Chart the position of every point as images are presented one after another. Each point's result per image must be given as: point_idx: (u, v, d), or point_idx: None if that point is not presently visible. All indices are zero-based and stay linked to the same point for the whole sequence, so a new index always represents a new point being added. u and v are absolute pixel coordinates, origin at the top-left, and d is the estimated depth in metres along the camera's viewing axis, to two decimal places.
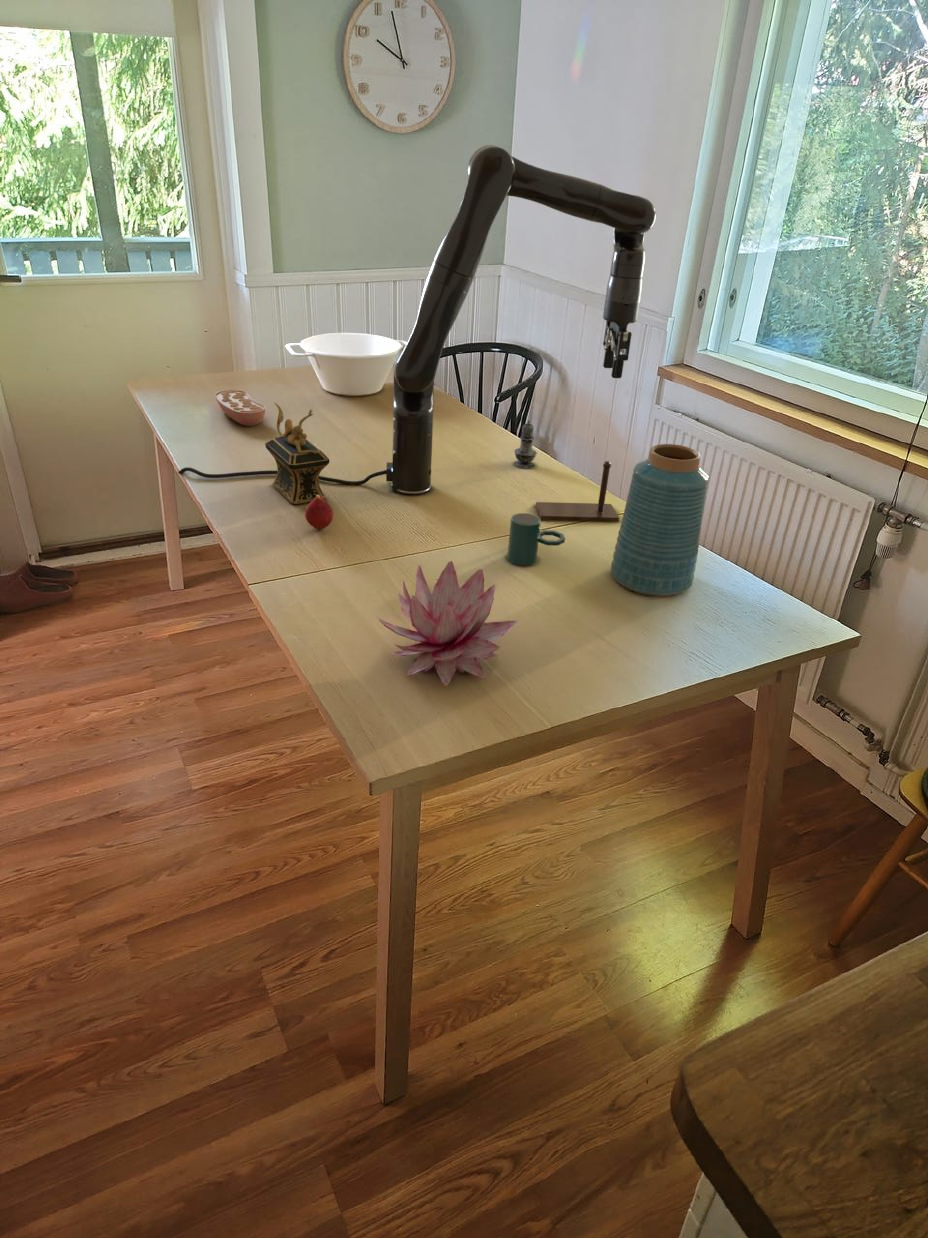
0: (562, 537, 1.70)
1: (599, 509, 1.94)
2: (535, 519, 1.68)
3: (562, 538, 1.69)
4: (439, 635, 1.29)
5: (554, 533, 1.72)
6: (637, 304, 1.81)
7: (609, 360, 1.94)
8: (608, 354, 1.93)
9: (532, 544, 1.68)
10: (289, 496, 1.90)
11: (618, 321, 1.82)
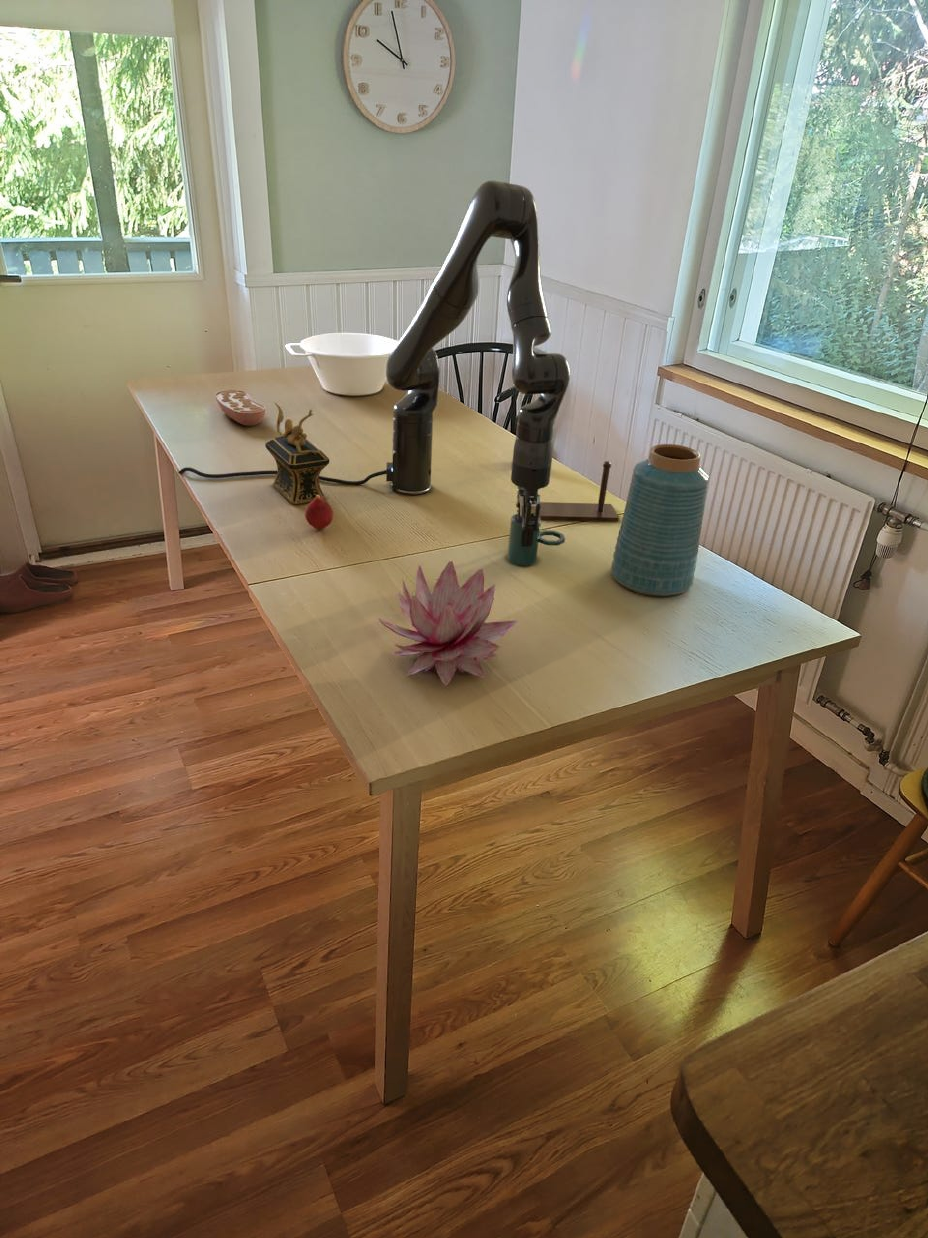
0: (562, 537, 1.70)
1: (599, 509, 1.94)
2: None
3: (562, 538, 1.69)
4: (439, 635, 1.29)
5: (554, 533, 1.72)
6: (547, 468, 1.60)
7: None
8: None
9: (532, 544, 1.68)
10: (289, 496, 1.90)
11: (526, 487, 1.60)
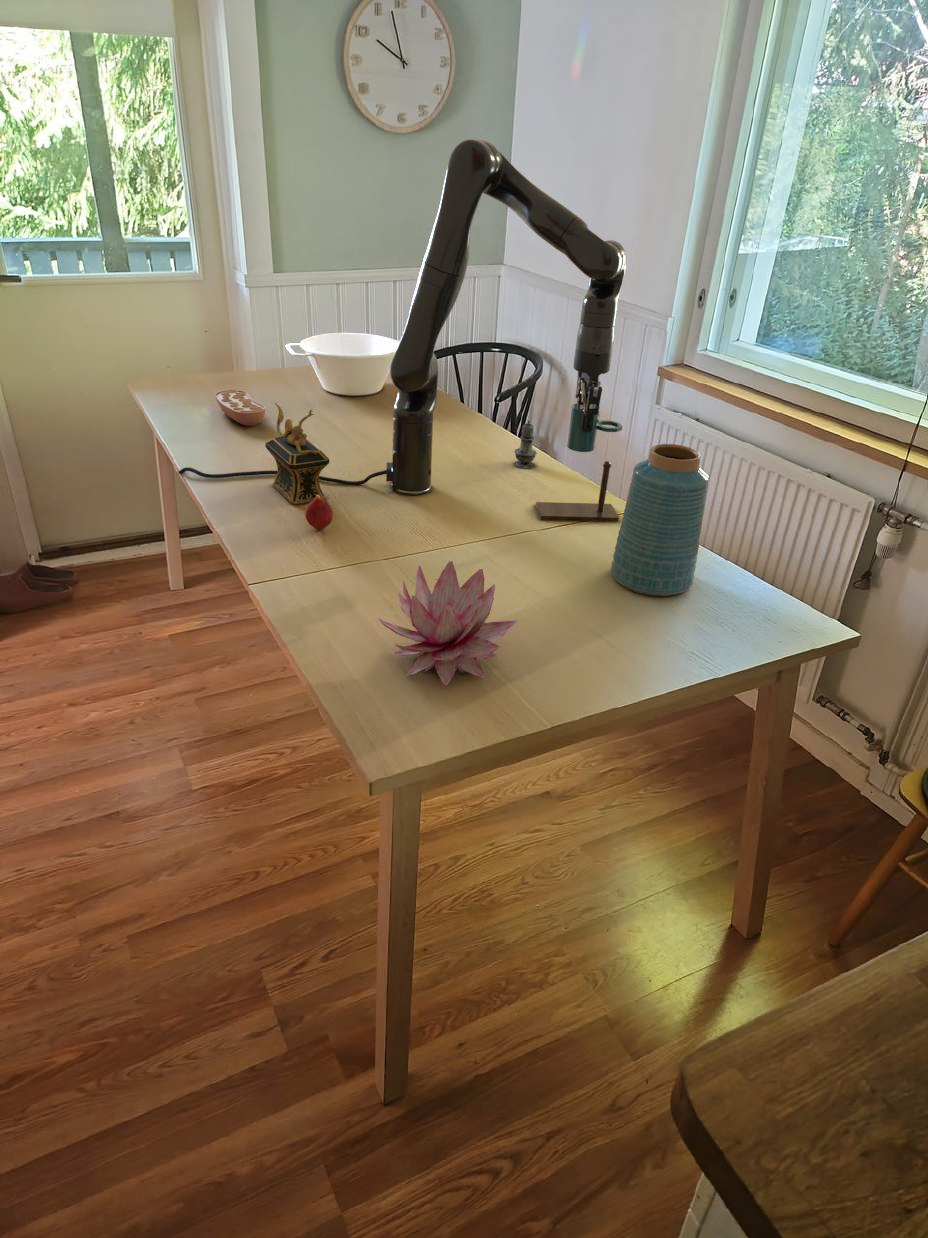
0: (619, 425, 1.81)
1: (599, 509, 1.94)
2: None
3: (619, 426, 1.80)
4: (439, 635, 1.29)
5: (611, 422, 1.83)
6: (609, 354, 1.71)
7: None
8: None
9: (592, 430, 1.79)
10: (289, 496, 1.90)
11: (589, 372, 1.71)
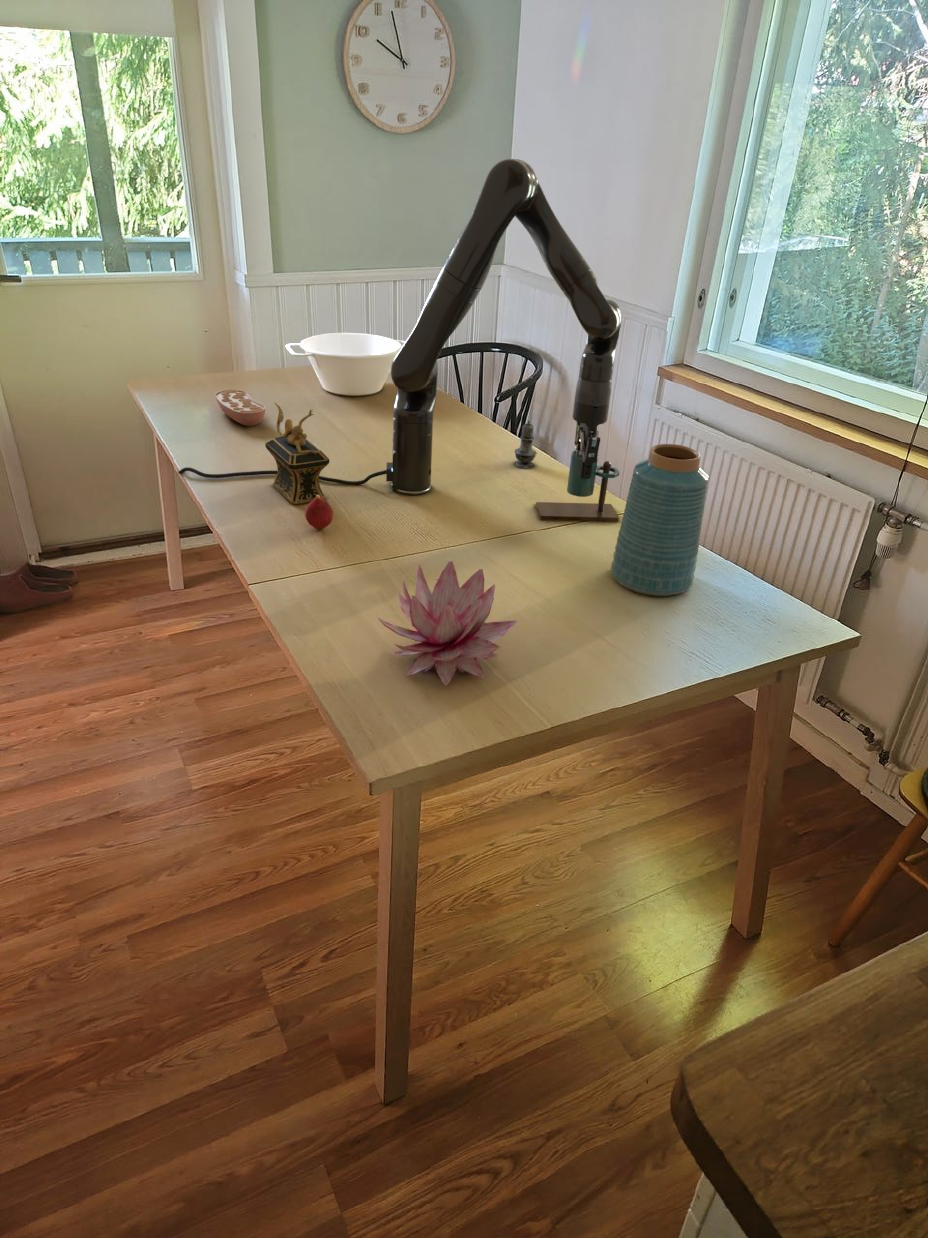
0: (617, 471, 1.89)
1: (599, 509, 1.94)
2: None
3: (617, 472, 1.89)
4: (439, 635, 1.29)
5: None
6: (606, 406, 1.79)
7: None
8: None
9: None
10: (289, 496, 1.90)
11: (587, 423, 1.80)
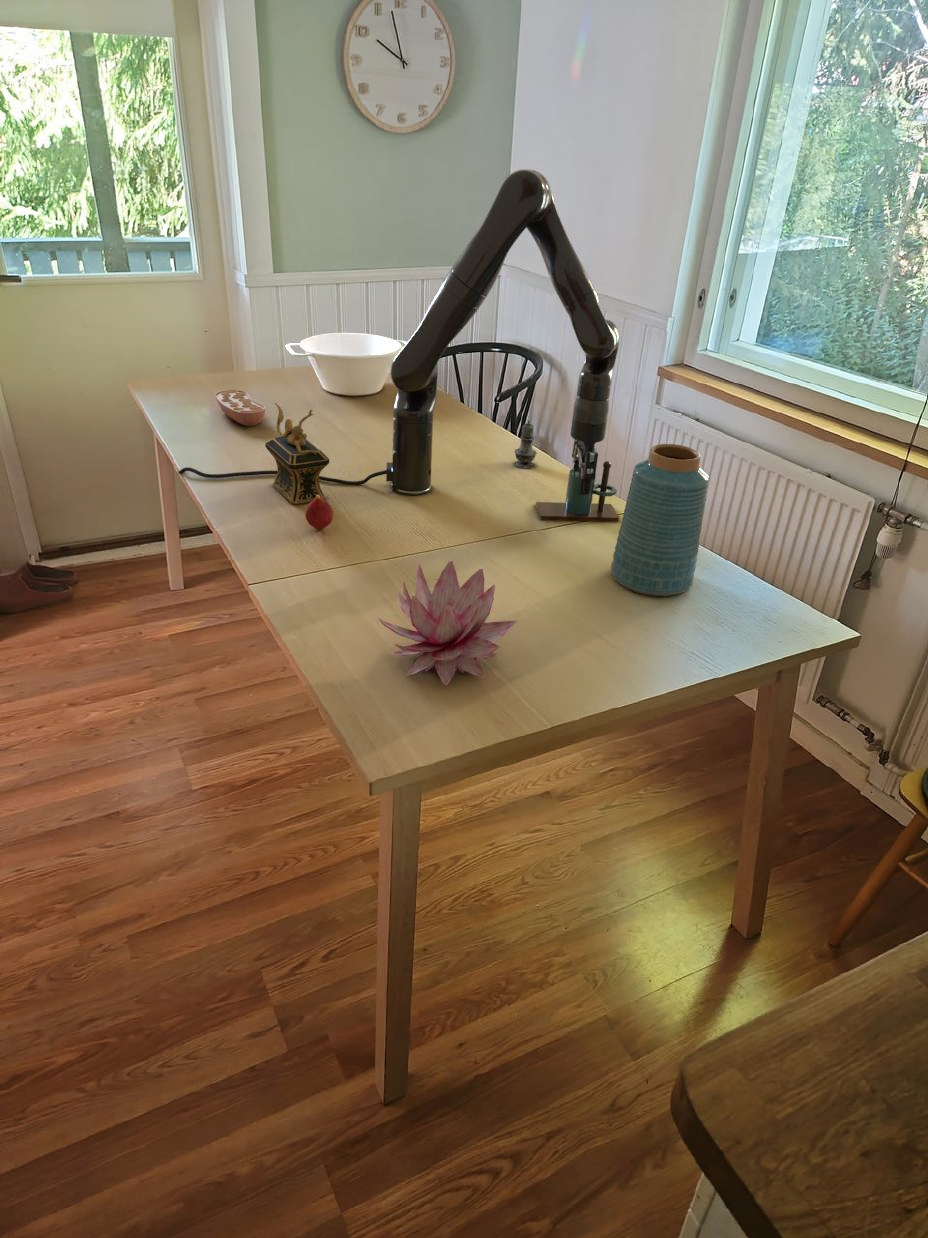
0: (614, 489, 1.91)
1: (599, 509, 1.94)
2: None
3: (614, 490, 1.91)
4: (439, 635, 1.29)
5: None
6: (604, 424, 1.81)
7: None
8: (577, 467, 1.93)
9: (588, 495, 1.89)
10: (289, 496, 1.90)
11: (585, 441, 1.82)
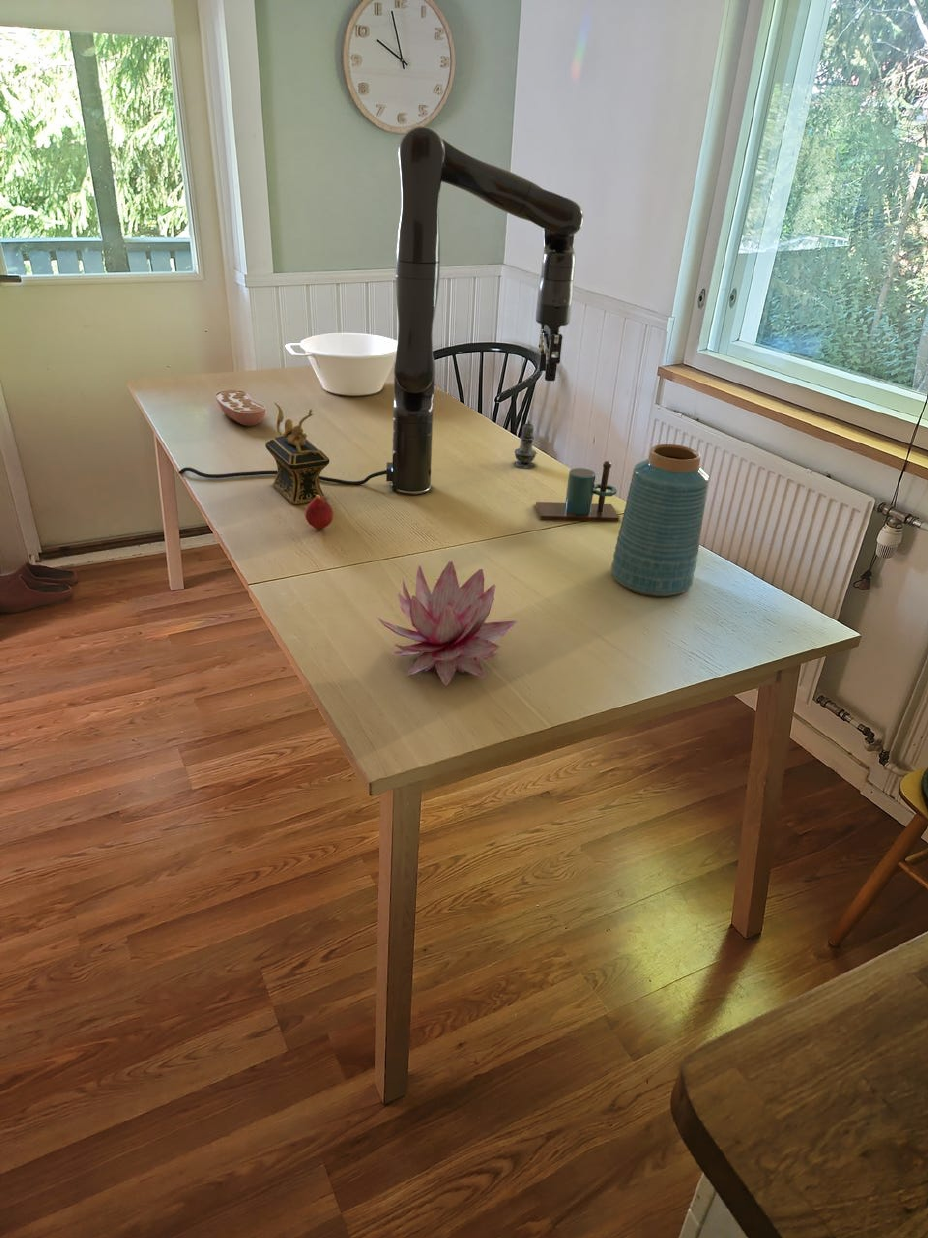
0: (614, 489, 1.91)
1: (599, 509, 1.94)
2: (590, 473, 1.89)
3: (614, 490, 1.91)
4: (439, 635, 1.29)
5: None
6: (568, 307, 1.81)
7: (545, 363, 1.93)
8: (543, 357, 1.92)
9: (588, 495, 1.89)
10: (289, 496, 1.90)
11: (549, 324, 1.81)
